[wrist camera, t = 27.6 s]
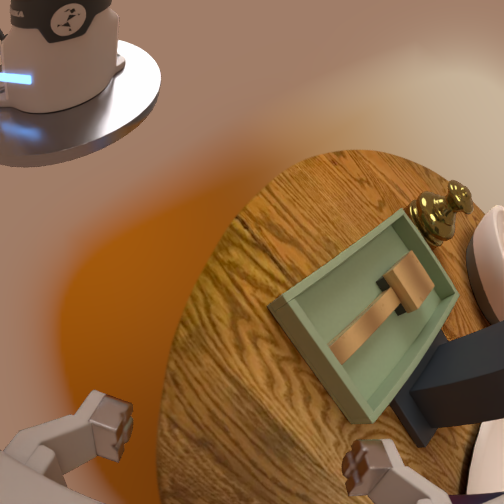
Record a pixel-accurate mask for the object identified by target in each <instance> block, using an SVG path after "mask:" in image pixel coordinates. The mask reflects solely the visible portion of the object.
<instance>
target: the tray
mask: <svg viewBox="0 0 504 504" xmlns="http://www.w3.org/2000/svg"><path fill="white" fill-rule="evenodd" d="M411 250H412V251H413V252H414V254H415V255H416V257H417V258H418V260H419V261H420V263H421V265H422V266H423V268H424V269H425V271H426V272H427V274H428V275H429V277H430V279H431V280H432V282H433V283H434V285H435V286H434V288H433V289H432V291H431V292H430V293H429V295H428V296H427V298H426V299H425V300H424V302H423V303H422V304H421V306H420V307H419V308H418V309H417V310H415V311H413V312H410V313H407V312H406V313H404V314H402V315H399V316H397V314H396V312H395V311H393V312H392V313H391V314H390V315H389V317H388V318H387V319H386V320H385V321H384V322H383V323H382V324H381V325H380V327H379V328H378V329H377V330H376V331H375V332H374V333H373V334H372V335H371V336H370V337H369V338H368V339H367V340H366V341H365V342H364V344H363V345H362V346H361V347H360V348H359V349H358V350H357V351H356V352H355V353H354V354H353V355H352V356H351V357H350V358H349V359H348V360H347V361H346V362H345V363H344V364H343V365H341V364H340V362H339V361H338V360H337V358H336V357H335V355H334V354H333V352H332V351H331V350H330V348H329V347H328V345H327V343H329V342H330V341H331V340H332V339H333V338H334V337H335V336H336V335H338V334H339V333H340V332H341V331H342V330H343V329H344V328H345V327H346V326H347V325H348V324H350V323H351V322H352V321H353V320H354V319H355V318H356V317H357V316H358V315H359V314H360V313H361V312H362V311H363V310H364V309H365V308H366V307H367V306H368V305H369V304H370V303H372V302H373V301H374V300H375V299H376V298H377V297H378V296H379V295H380V294H381V293H382V291H381V290H380V288H379V287H378V285H377V284H376V281H377V280H378V279H379V278H380V277H381V276H382V275H384V274H385V273H386V272H387V271H388V270H389V269H390V268H391V267H392V266H393V265H394V264H395V263H396V262H397V261H398V260H399V259H400V258H401V257H402V256H404V255H405V254H407V253H408V252H410V251H411ZM458 297H459V293H458V291H456V288H455V286H454V285H453V283H452V281H451V280H450V278H449V277H448V275H447V273H446V272H445V270H444V268H443V267H442V265H441V264H440V262H439V261H438V259H437V258H436V256H435V254H434V253H433V251H432V250H431V248H430V247H429V245H428V244H427V242H426V241H425V240H424V238H423V237H422V235H421V234H420V232H419V231H418V229H417V228H416V227H415V225H414V224H413V222H412V221H411V220H410V218H409V217H408V216H407V214H406V213H405V212H404V210H403V209H402V208H401V209H400V210H398V211H397V212H396V213H394V214H393V215H392V216H390V217H389V218H388V219H386V220H385V221H384V222H382V223H381V224H380V225H379V226H377V227H376V228H375V229H373V230H372V231H370V232H369V233H368V234H366V235H365V236H364V237H362V238H361V239H360V240H358V241H357V242H356V243H354V244H353V245H351V246H350V247H349V248H347V249H346V250H345V251H343V252H342V253H340V254H339V255H338V256H336V257H335V258H334V259H332V260H331V261H329V262H328V263H327V264H325V265H324V266H322V267H321V268H319V269H318V270H317V271H315V272H314V273H312V274H311V275H309V276H308V277H307V278H305V279H304V280H302V281H301V282H299V283H298V284H297V285H295V286H294V287H292V288H291V289H289V290H288V291H286V292H285V293H283V294H282V295H281V296H279V297H278V298H277V299H275V300H274V301H273V302H272V303H270V304H269V305H268V306H267V307H268V309H269V310H270V311H271V313H272V314H273V316H274V317H275V319H276V320H277V321H278V323H279V324H280V326H281V327H282V329H283V330H284V331H285V333H286V334H287V336H288V337H289V338H290V340H291V341H292V343H293V344H294V346H295V347H296V348H297V350H298V351H299V353H300V354H301V355H302V357H303V358H304V360H305V361H306V362H307V364H308V365H309V367H310V368H311V369H312V371H313V372H314V374H315V375H316V376H317V378H318V379H319V381H320V382H321V383H322V385H323V386H324V387H325V389H326V390H327V392H328V393H329V394H330V396H331V397H332V399H333V400H334V401H335V403H336V404H337V405H338V407H339V408H340V410H341V411H342V412H343V414H344V415H345V416H346V418H347V419H348V420H349V422H350V423H351V424H373V423H374V422H375V421H376V420H377V418H378V417H379V416H380V415H381V413H382V412H383V411H384V410H385V409H386V407H387V406H388V405H389V403H390V402H391V401H392V400H393V398H394V397H395V396H396V394H397V393H398V392H399V390H400V389H401V388H402V386H403V385H404V384H405V382H406V381H407V380H408V378H409V377H410V375H411V374H412V372H413V371H414V370H415V368H416V367H417V365H418V364H419V362H420V361H421V359H422V358H423V356H424V355H425V353H426V352H427V350H428V349H429V347H430V345H431V344H432V342H433V341H434V339H435V337H436V336H437V334H438V333H439V331H440V329H441V328H442V326H443V324H444V322H445V321H446V319H447V317H448V315H449V314H450V312H451V310H452V308H453V306H454V305H455V303H456V301H457V299H458Z"/></svg>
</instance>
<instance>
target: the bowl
mask: <svg viewBox="0 0 504 504" xmlns="http://www.w3.org/2000/svg"><path fill="white" fill-rule="evenodd" d="M466 263H467V270H468V276H469V280H470V284H471V287H472V290H473V293H474V295H475V298H476V300H477V303H478V305H479V307H480V309H481V311H482V313H483V314H484V316H485V317H486V319H487V320H488V321H489V322H490V324H491V325H494V324H496V323H498V322H501V321H503V320H504V207H503V206H500V205H496V206H494V207H493V208H492V209H491V210H490V211H489V212H488V213H487V214H485V216H484V217H483V219H482V220H481V222H480V223H479V225H478V226H477V228H476V229H475V231H474V234H473V236H472V238H471V240H470V243H469V245H468V247H467V251H466Z"/></svg>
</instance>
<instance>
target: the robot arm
mask: <svg viewBox="0 0 504 504" xmlns="http://www.w3.org/2000/svg"><path fill="white" fill-rule="evenodd" d="M111 2H112V0H11V5H10V14H11V24H12V25H13V26H12V28H11V30H10V32H9V34H7V35H5V36H4V34H3V32H2V31H1V30H0V40H1V45H0V55H1V60H2V71H1V73H0V107H13V108H16V109H18V110H21V111H24V112H29V113H48V112H55V111H59V110H64V109H67V108H71V107H73V106H76V105H79V104H81V103H83V102H85V101H87V100H89V99H91V98H93V97H94V96H96V95H97V94H99V93H100V92H101V91H103V90H104V89H105V88H106V86H107V85H108V84H109V82H110V81H111V79H112V77H113V75H114V74H115V73H117V72H118V71H120V70H121V69H123V68H124V67H125V66H126V59H125V58H124V57H123V56H122V55H121V54H119V53H118V52H117V48H118V32H119V15H117V14H116V13H115V12H114V11H113V10H111V9H110V7H109V6H110V5H111ZM132 412H133V404H132V403H129V402H127V401H124V400H121V399H118V398H115V397H113V396H110V395H107V394H104V393H101V392H99V391H97V390H93V391H91V392H90V394H89V395H88V397H87V398H86V399H85V401H84V402H83V404H82V405H81V406H80V408H79V409H78V411H77V412H76V413H75V415H74V416H73V415H71V414H70V415H67V416H64V417H61V418H58V419H55V420H52V421H49V422H46V423H43V424H40V425H36V426H33V427H30V428H27V429H23V430H20V431H19V432H18V433H17V434H16V435H15V437H14V438H13V439H12V440H11V441H10V443H9V444H8V445H7V447H6V448H5V449H4V450H3V451H1V450H0V504H105V503H102V502H100V501H97V500H95V499H92V498H90V497H87V496H85V495H83V494H80V493H78V492H76V491H73V490H71V489H69V488H68V487H67V485H66V482H65V480H64V477H63V475H64V474H66V473H68V472H70V471H71V470H73V469H75V468H77V467H79V466H80V465H82V464H84V463H86V462H88V461H89V460H91V459H93V458H94V457H96V455H98V456H101V457H103V458H106V459H109V460H112V461H115V462H118V463H119V461H120V459H121V456H122V454H123V452H124V444H125V443H127V442H128V441H129V439H130V437H131V433H132V429H133V418H132V417H131V414H132ZM351 448H352V450H351V451H349V452H348V453H346V455H345V457H344V458H343V461H342V473H343V475H344V476H345V477H346V478H347V481H346V483H345V485H346V489H347V493H348V496H361V495H368V497H369V498H370V499H371V500H372V501H373V502H374V503H375V504H452V502H451V500H450V498H449V496H448V494H447V493H446V492H445V491H443V490H442V489H440V488H439V487H437V486H436V485H434V484H433V483H431V482H430V481H428V480H427V479H425V478H424V477H422V476H421V475H420V474H418V473H417V472H415V471H414V470H412V469H411V468H409V467H408V466H406V467H405V466H404V464H403V462H402V459H401V457H400V455H399V453H398V451H397V449H396V447H395V444H394V442H393V441H392V440H391V439H379V440H378V439H372V440H355V441H354V442H353V444H352V445H351ZM482 504H504V494H503V495H501V496H499V497H497V498H494V499H492V500H490V501H487V502H485V503H482Z"/></svg>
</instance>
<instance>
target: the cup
mask: <svg viewBox="0 0 504 504" xmlns="http://www.w3.org/2000/svg"><path fill="white" fill-rule="evenodd" d="M503 494H504V491H503V492H494V493H483V494H467V495H448V496H449V498H450V500H451V502H452V504H482V503H485V502H487V501H490V500H492V499H494V498H497V497H499V496H501V495H503Z"/></svg>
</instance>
